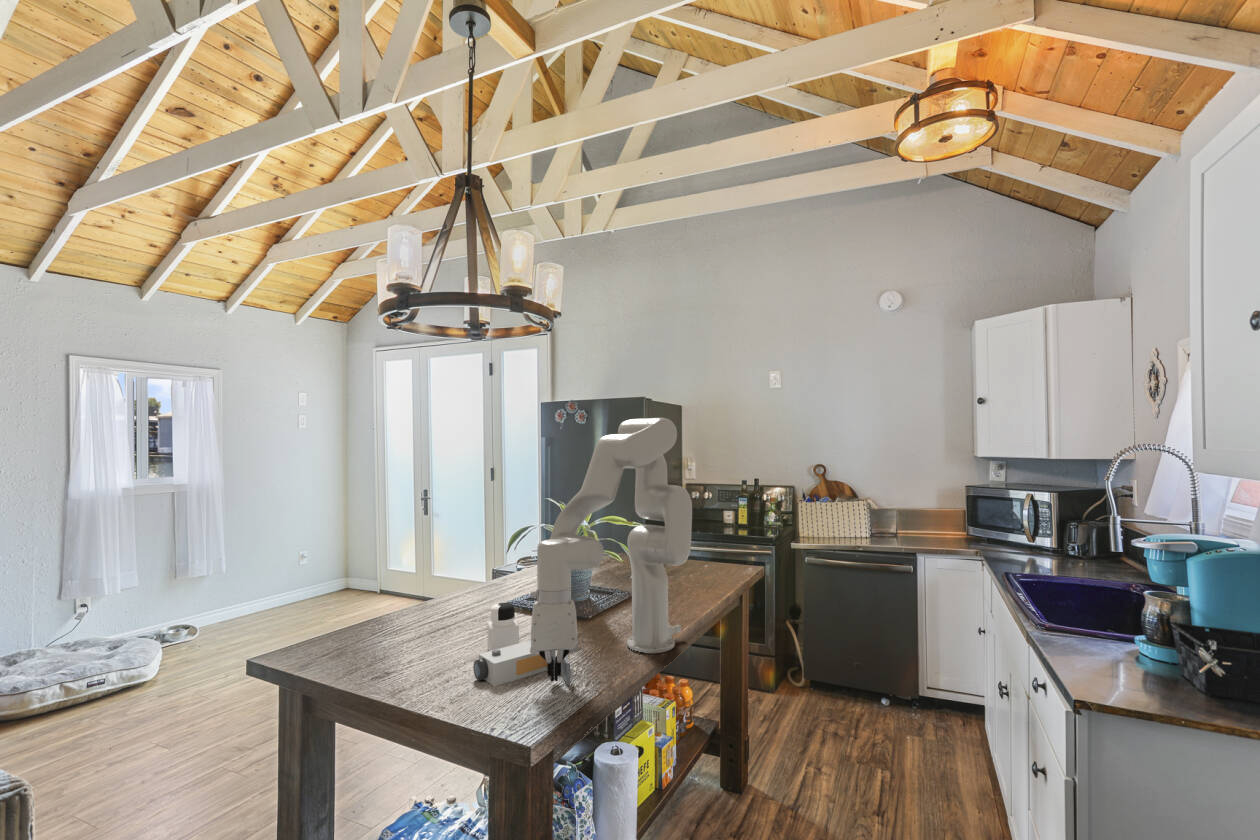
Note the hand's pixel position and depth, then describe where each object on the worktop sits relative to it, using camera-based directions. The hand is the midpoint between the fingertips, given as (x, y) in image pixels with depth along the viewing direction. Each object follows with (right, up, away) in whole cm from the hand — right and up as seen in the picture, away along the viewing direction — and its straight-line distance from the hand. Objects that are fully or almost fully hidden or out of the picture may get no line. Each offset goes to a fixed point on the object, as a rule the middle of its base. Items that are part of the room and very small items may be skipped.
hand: (554, 678), depth 131 cm
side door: (+2, -1, +5) cm, 6 cm away
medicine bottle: (-16, -3, +22) cm, 28 cm away
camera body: (-10, -2, +8) cm, 13 cm away
